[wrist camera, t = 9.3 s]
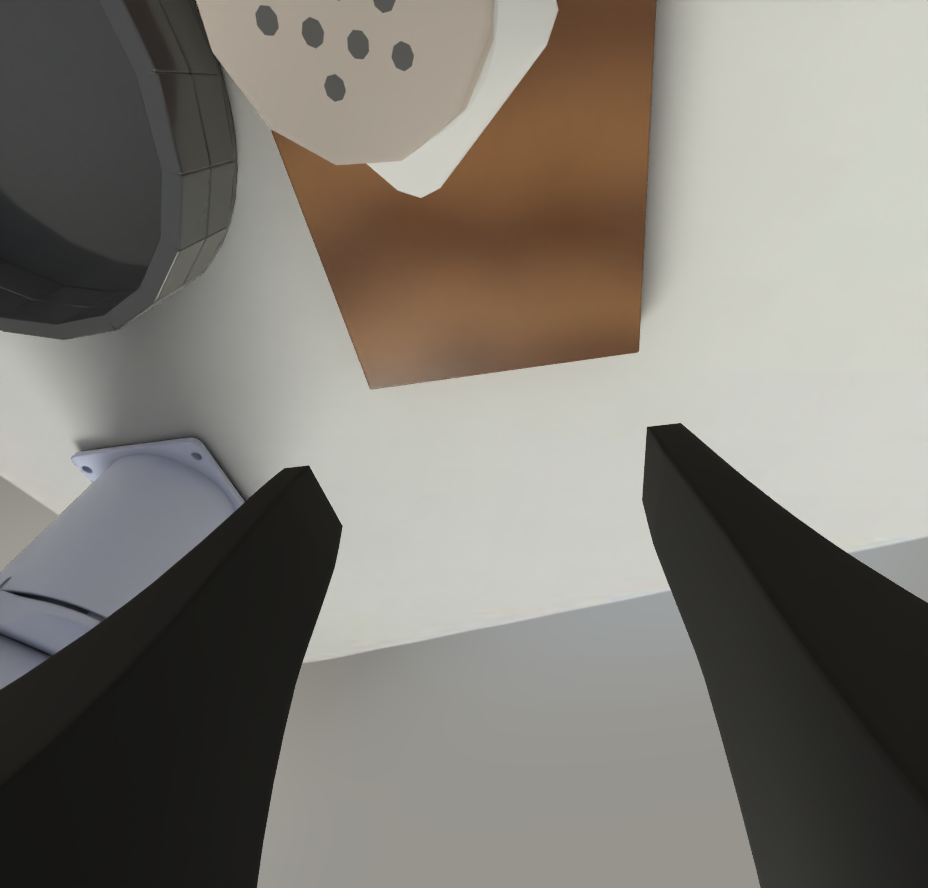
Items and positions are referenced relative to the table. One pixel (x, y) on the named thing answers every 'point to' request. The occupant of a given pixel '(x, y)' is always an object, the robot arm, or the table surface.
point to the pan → (107, 161)
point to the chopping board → (504, 220)
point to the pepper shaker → (380, 74)
